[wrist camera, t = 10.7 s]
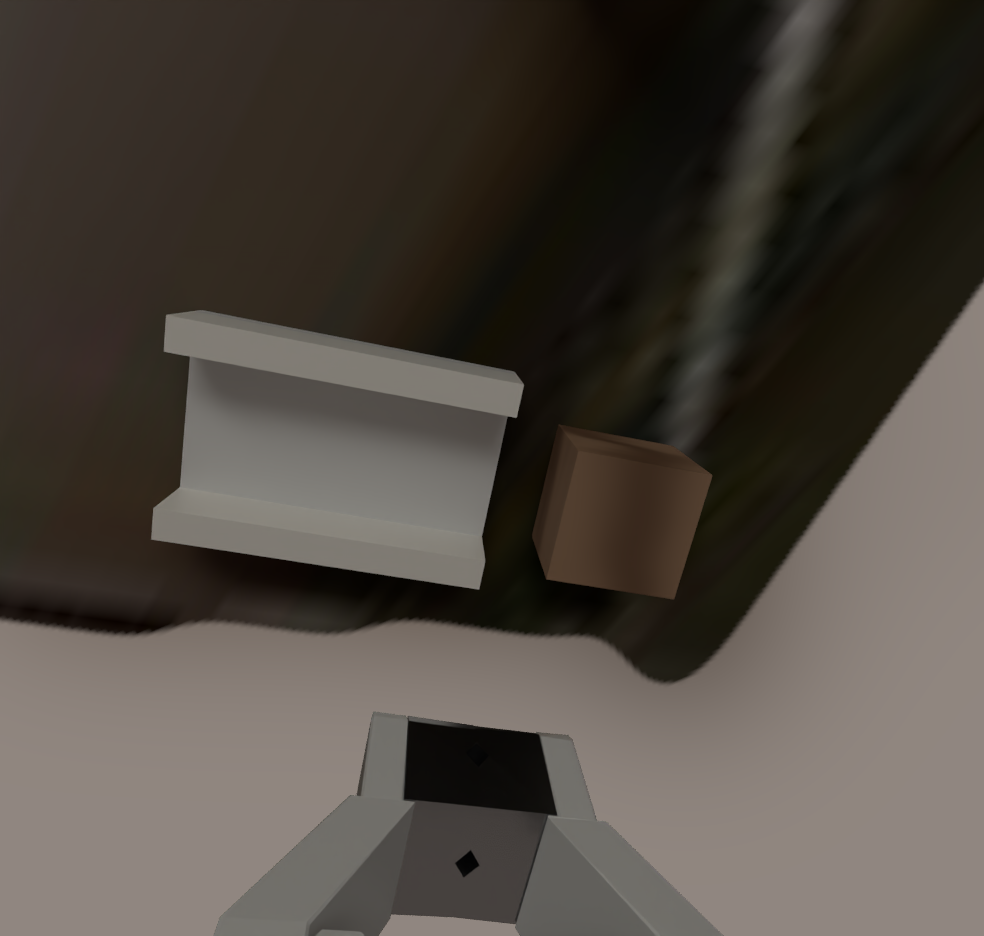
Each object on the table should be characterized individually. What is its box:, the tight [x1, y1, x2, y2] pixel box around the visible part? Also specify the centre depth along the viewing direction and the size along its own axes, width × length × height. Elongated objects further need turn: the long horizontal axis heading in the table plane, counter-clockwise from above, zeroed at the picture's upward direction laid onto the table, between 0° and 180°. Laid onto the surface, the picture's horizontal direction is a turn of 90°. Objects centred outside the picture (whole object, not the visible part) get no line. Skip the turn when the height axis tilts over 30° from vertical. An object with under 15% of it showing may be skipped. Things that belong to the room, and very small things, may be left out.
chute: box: [151, 310, 524, 589], centre depth 30 cm, size 15×10×4 cm, turn 78°
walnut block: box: [532, 425, 712, 599], centre depth 31 cm, size 6×6×5 cm
